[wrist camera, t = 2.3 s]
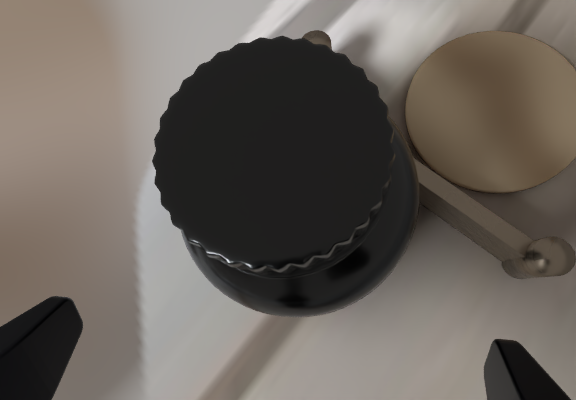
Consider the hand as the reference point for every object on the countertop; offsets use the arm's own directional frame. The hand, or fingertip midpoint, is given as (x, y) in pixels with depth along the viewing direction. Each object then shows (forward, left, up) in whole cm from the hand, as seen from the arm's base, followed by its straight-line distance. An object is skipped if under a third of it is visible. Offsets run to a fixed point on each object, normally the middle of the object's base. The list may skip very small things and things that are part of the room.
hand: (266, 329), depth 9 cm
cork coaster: (+13, +1, -10) cm, 16 cm away
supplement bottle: (+3, +2, -11) cm, 11 cm away
